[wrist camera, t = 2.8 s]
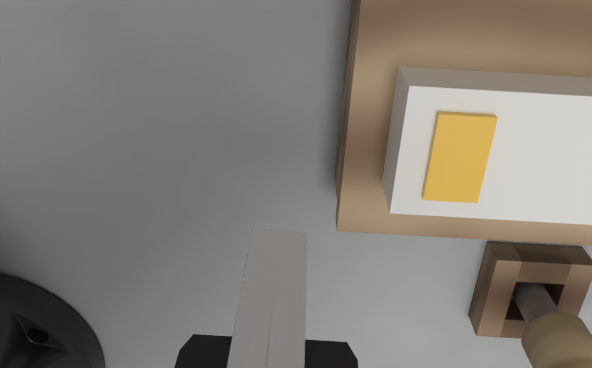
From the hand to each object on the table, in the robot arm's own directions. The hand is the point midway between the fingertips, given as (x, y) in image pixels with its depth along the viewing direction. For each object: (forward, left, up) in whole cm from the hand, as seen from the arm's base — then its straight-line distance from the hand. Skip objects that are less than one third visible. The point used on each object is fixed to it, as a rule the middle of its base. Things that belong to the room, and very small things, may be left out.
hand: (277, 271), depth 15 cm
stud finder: (0, -10, -12) cm, 15 cm away
